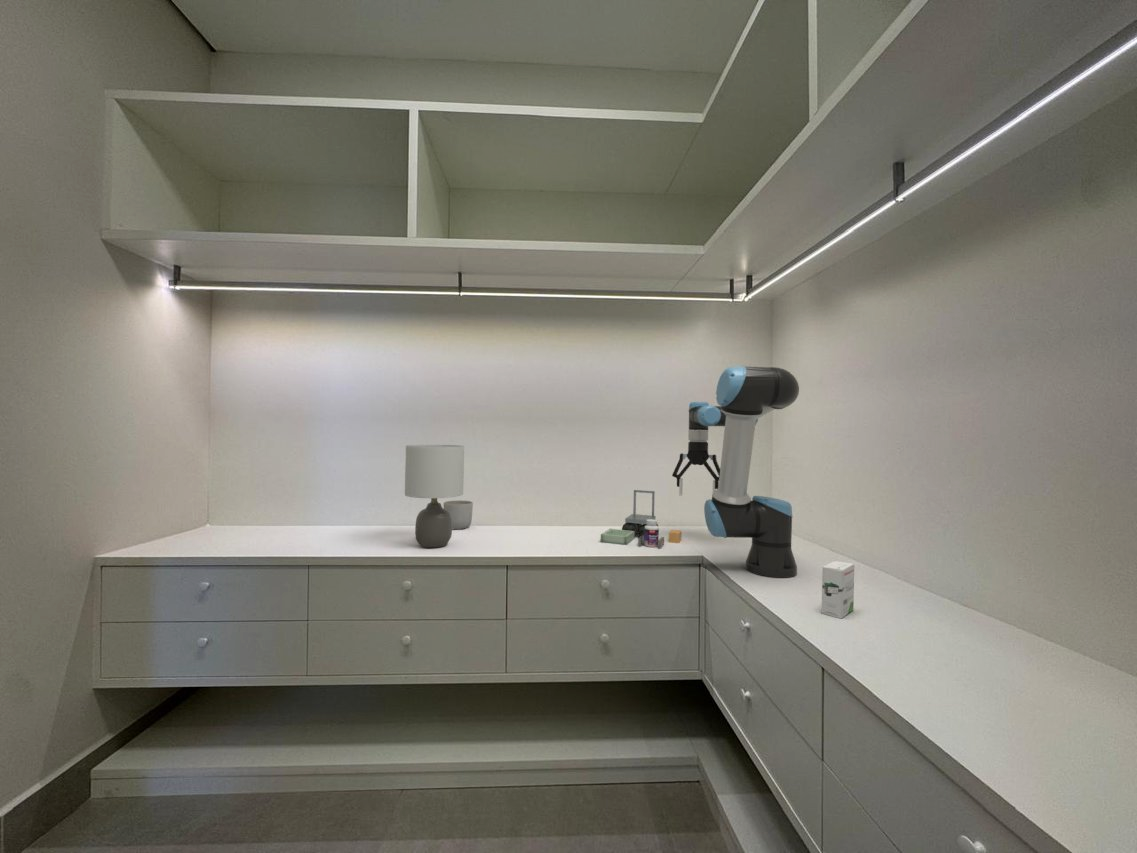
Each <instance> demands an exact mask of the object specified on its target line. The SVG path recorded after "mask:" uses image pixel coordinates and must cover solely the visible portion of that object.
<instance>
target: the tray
mask: <svg viewBox="0 0 1137 853" xmlns="http://www.w3.org/2000/svg"><path fill="white" fill-rule="evenodd" d="M635 536H636V534H635V531H629V530H622V529H616V528H609V529H607V530H606V531H604V532H603V533H601V534H600V543H603V544H604V543H605V544H613V545H615V544H616V545H623V546H624V545H625V546H627V545H629V544H630V543H631V542H632V541H633V540H635Z"/></svg>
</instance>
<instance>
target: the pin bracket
mask: <svg viewBox="0 0 1137 853" xmlns="http://www.w3.org/2000/svg"><path fill="white" fill-rule="evenodd" d="M643 545H644V535H642V536H640V537H638V538H637V547H639V548H640V547H642V546H643ZM664 546H665V536H661V537H660V538H659V539H658V546H657V549H659V550H661V549H662V548H663V547H664Z"/></svg>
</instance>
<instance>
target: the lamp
mask: <svg viewBox="0 0 1137 853" xmlns="http://www.w3.org/2000/svg"><path fill="white" fill-rule="evenodd" d="M464 464H465V446H464V445H455V444H408V445H407V444H406V445H405V466H404V467H405V468H404V470H405V473H404V496H405V497H409V498H415V499H416V498H417V499H431V500H430V502H428V503H427V505H426V507H425V508H423V509H421V510H420V511H419V512H418V514H417V516H416V519H415V520H416V521H415V533H414V536H415V540H416V542H417V544H418V545H419V546H420V547H422V548H427V549H435V548H441V547H444V546H446V545H447V544H448V543H449V541H450V540H451V538H452V536H453V535H452V532H453V529H452V521H451V516H450V513H449V512H448V511H447V510H446V509H444V507H443V505H442V503H440V502H439V501H438V499H448V498H449V499H450V498H456V497H460V496H462V495H464V470H465V465H464Z"/></svg>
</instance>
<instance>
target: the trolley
mask: <svg viewBox="0 0 1137 853" xmlns="http://www.w3.org/2000/svg"><path fill="white" fill-rule="evenodd" d="M655 492H656V491H654V490H641V489H640V490H639V489H634V490H633V509H632V510H633V512H632V514H629V515H628V516H627V517H625V518H624V520H625V521H624V524H623V525H622V526H621V530H629V531H635V535H637V533H638V534H639V536H640V537H641V536H642V535H644V528H645V526H646V525H647V524H646V521H647V520H648V519H653V520H657V519H656V517H657V516H656V515H655ZM637 493H642V494H643V493H645V494H652V496H651V515H648V514H639V513H638V514H637V511H636V510H637V507H636V505H637ZM656 526H658V527H659V523H657V525H656Z"/></svg>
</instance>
